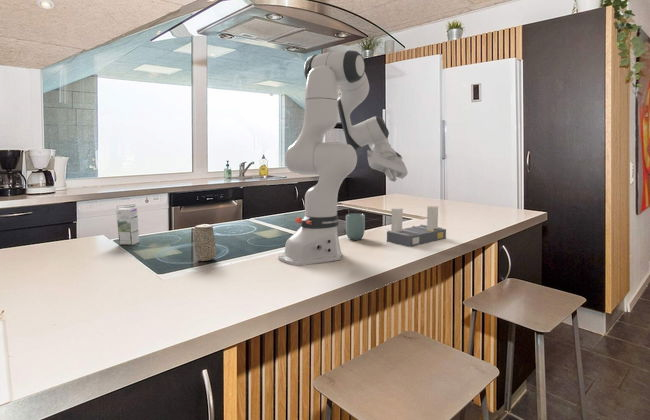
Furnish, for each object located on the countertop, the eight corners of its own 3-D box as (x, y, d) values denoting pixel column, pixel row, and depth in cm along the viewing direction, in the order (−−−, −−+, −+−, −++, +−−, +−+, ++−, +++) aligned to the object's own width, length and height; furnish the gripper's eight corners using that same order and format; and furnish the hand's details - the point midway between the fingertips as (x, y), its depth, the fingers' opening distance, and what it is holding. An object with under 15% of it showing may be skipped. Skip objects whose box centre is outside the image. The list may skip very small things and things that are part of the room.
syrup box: (140, 242, 174) (137, 206, 172) (132, 245, 168) (129, 208, 166) (126, 241, 175) (124, 206, 173) (118, 245, 169) (115, 208, 167)
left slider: (397, 232, 167) (397, 209, 166) (391, 230, 170) (391, 208, 168) (402, 231, 169) (402, 208, 168) (396, 230, 171) (396, 207, 170)
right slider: (432, 229, 172) (433, 207, 171) (426, 228, 174) (427, 206, 173) (437, 228, 174) (438, 206, 173) (431, 227, 176) (432, 205, 175)
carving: (202, 257, 149) (200, 223, 147) (220, 258, 146) (219, 224, 144) (190, 261, 143) (188, 226, 141) (209, 263, 140) (207, 227, 138)
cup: (365, 241, 172) (365, 216, 170) (346, 241, 172) (346, 216, 171) (364, 237, 180) (364, 213, 178) (345, 237, 180) (345, 213, 178)
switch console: (410, 247, 161) (411, 235, 160) (386, 241, 170) (386, 230, 169) (446, 239, 174) (446, 228, 173) (422, 234, 184) (422, 224, 183)
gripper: (370, 143, 176) (380, 169, 168) (404, 156, 188) (414, 181, 181) (361, 153, 180) (370, 178, 172) (394, 165, 192) (404, 189, 184)
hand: (393, 180), depth 176 cm, fingers closed
